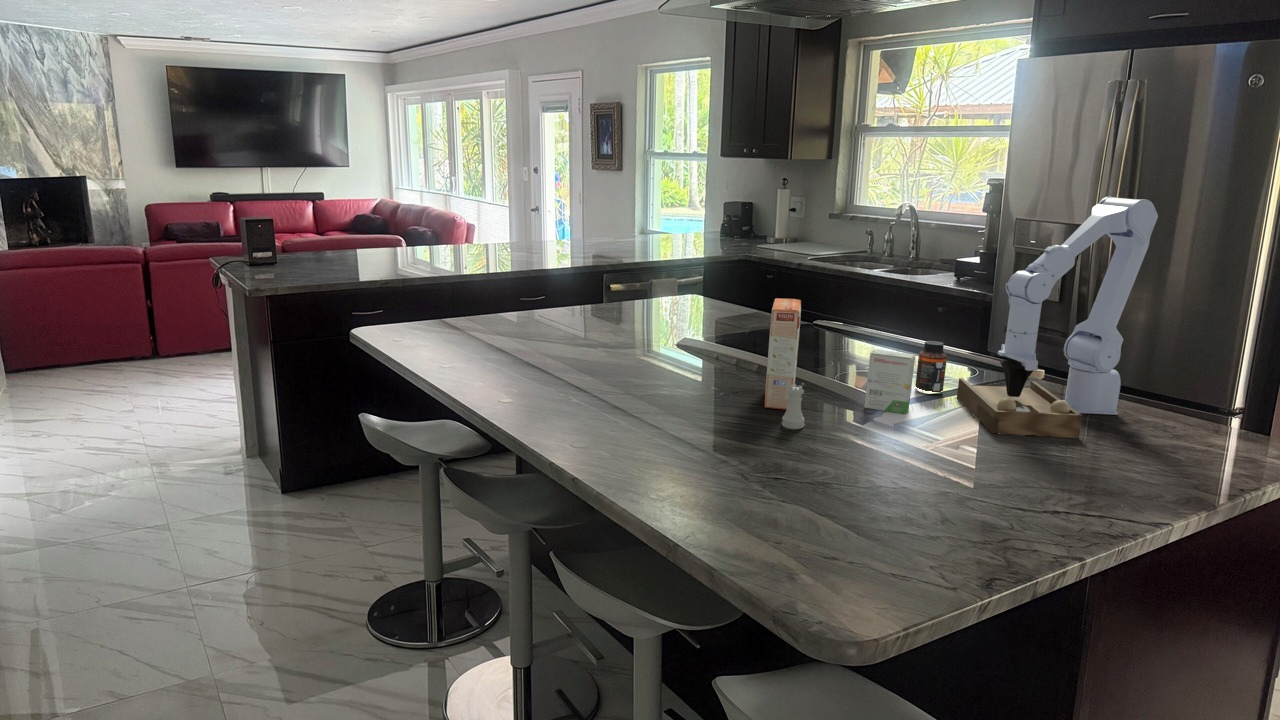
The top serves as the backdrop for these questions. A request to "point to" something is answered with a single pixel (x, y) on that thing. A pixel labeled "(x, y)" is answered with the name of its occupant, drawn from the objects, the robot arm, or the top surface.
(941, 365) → the supplement bottle
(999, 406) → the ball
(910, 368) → the ink box
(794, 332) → the cracker box
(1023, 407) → the steel ball
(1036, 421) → the board
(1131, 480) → the top surface
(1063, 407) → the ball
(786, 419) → the rook chess piece
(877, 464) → the top surface
